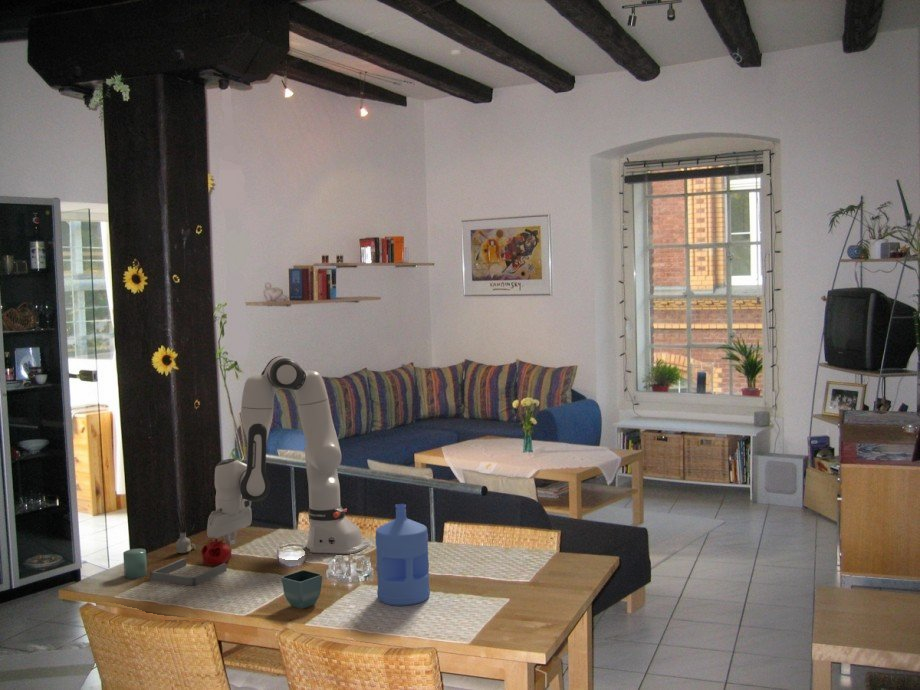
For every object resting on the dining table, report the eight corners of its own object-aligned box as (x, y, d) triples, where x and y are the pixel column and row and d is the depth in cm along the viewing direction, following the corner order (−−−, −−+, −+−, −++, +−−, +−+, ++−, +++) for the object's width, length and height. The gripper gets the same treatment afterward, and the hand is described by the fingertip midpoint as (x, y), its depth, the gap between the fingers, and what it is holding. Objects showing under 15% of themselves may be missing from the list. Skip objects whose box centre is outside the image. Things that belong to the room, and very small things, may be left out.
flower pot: (304, 598, 274) (303, 569, 273) (324, 604, 268) (323, 574, 267) (281, 606, 267) (280, 576, 266) (301, 613, 261) (300, 582, 261)
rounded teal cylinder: (151, 573, 302) (150, 549, 302) (136, 579, 296) (134, 555, 295) (135, 571, 305) (134, 547, 304) (119, 577, 299) (118, 553, 298)
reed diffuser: (182, 557, 319) (179, 501, 318) (165, 555, 321) (162, 500, 320) (199, 548, 329) (196, 494, 328) (183, 547, 331) (180, 493, 330)
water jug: (371, 593, 276) (368, 502, 274) (420, 585, 282) (417, 496, 280) (385, 610, 262) (382, 514, 260) (437, 601, 267) (434, 508, 265)
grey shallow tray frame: (226, 570, 302) (226, 563, 302) (194, 586, 288) (193, 578, 288) (184, 565, 310) (183, 558, 310) (150, 579, 295) (149, 572, 295)
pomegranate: (216, 557, 318) (215, 531, 318) (237, 561, 313) (236, 534, 313) (195, 565, 310) (194, 538, 309) (216, 569, 305) (215, 541, 304)
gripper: (216, 513, 307) (218, 553, 308) (254, 499, 325) (255, 537, 326) (201, 512, 309) (203, 551, 310) (239, 498, 328) (241, 536, 329)
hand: (230, 544), depth 318 cm, fingers closed
